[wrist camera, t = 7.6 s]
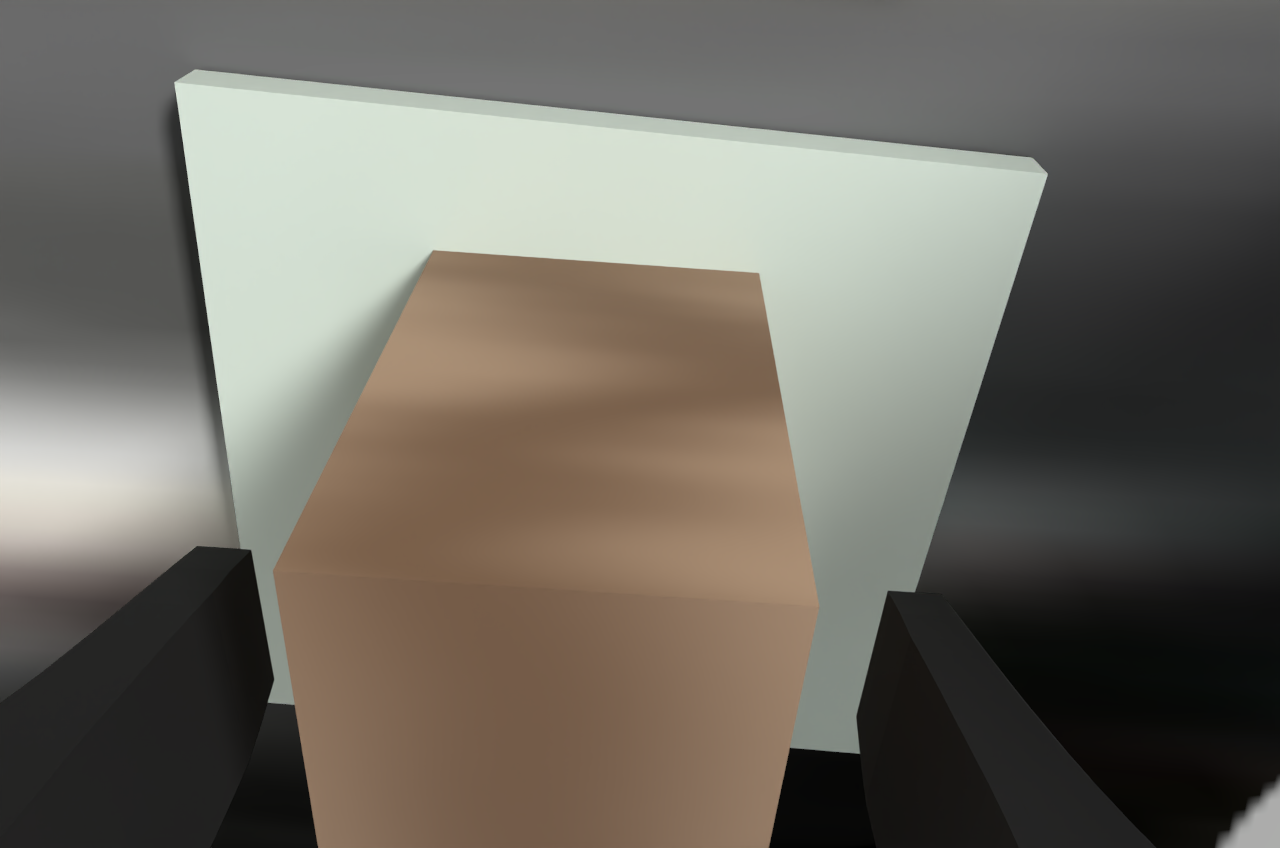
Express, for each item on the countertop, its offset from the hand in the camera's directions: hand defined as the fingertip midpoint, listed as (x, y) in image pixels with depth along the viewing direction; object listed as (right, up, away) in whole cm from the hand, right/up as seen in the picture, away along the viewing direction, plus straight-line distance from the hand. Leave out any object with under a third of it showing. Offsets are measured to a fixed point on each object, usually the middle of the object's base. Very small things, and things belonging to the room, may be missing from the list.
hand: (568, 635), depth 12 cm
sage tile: (0, +2, +3) cm, 4 cm away
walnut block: (0, +2, +2) cm, 3 cm away
